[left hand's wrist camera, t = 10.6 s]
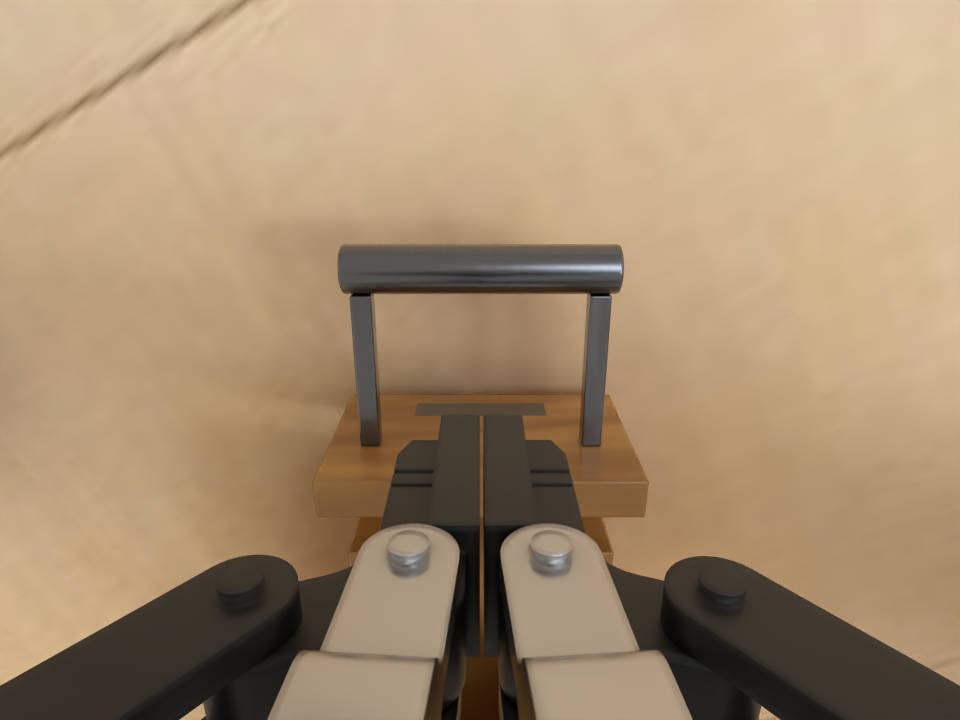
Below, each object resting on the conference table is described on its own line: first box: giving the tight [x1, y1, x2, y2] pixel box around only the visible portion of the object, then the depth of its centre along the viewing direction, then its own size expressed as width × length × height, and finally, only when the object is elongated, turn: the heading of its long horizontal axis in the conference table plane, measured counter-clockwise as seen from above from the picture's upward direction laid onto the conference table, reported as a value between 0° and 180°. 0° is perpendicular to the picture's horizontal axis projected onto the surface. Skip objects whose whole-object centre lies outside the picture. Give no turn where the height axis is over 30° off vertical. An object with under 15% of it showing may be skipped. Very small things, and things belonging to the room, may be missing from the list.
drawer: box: [313, 244, 648, 720], centre depth 23 cm, size 24×9×6 cm, turn 0°
